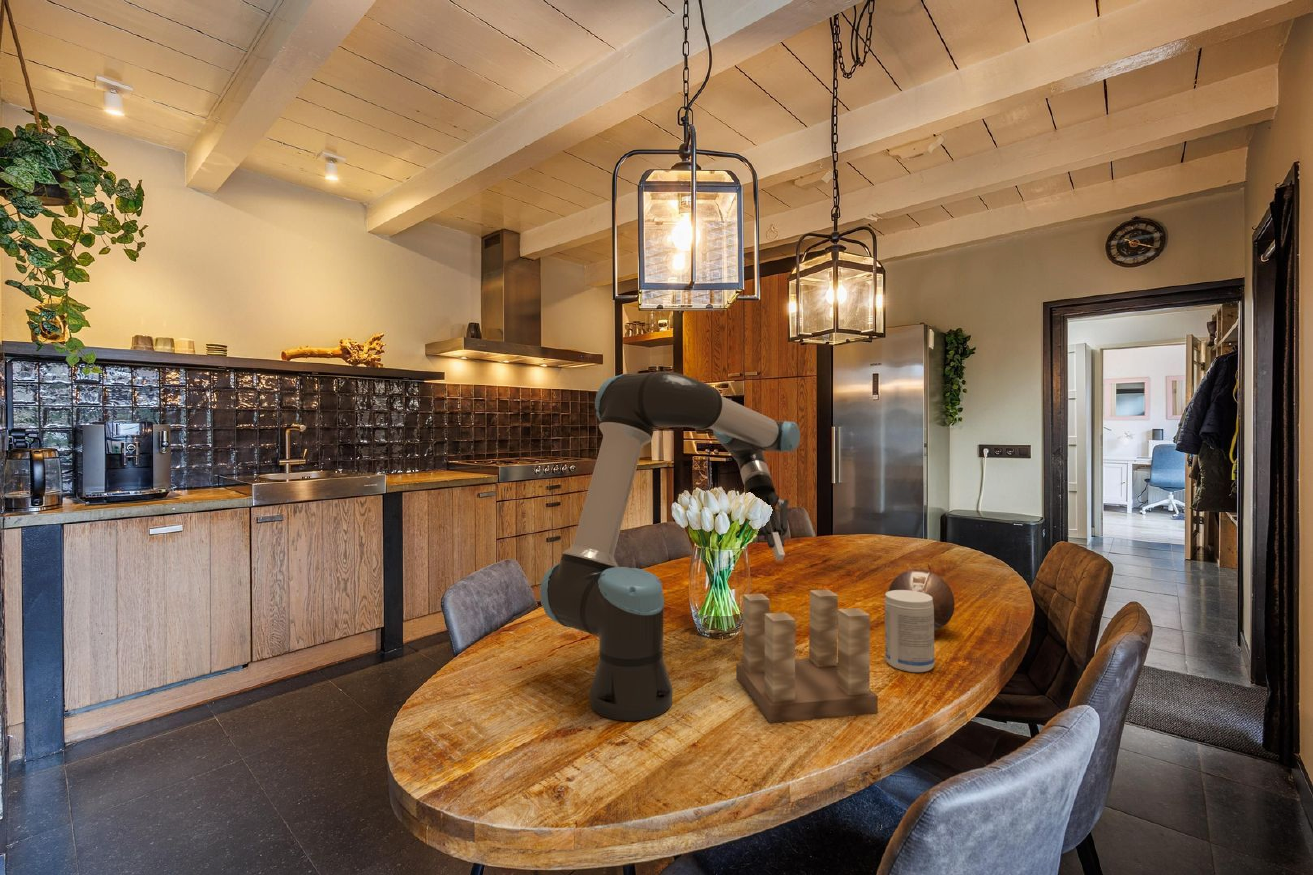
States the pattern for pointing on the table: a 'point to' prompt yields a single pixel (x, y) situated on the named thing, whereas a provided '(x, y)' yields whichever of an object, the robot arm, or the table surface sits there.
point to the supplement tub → (909, 630)
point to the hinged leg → (823, 628)
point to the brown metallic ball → (928, 592)
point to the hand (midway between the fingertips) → (780, 557)
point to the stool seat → (804, 667)
